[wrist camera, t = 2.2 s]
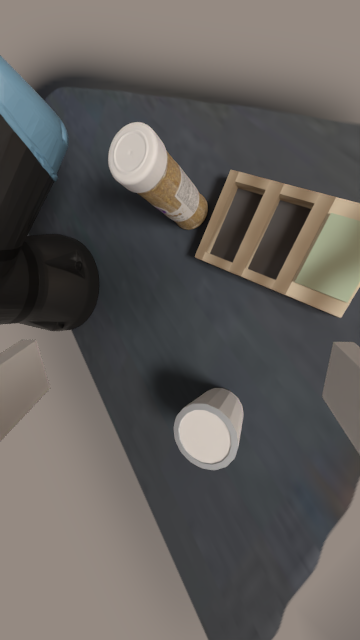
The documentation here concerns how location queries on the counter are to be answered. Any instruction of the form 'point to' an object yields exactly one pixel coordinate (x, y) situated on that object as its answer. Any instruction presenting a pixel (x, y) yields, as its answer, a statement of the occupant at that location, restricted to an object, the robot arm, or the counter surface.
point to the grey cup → (210, 429)
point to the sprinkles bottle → (155, 175)
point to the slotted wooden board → (286, 240)
